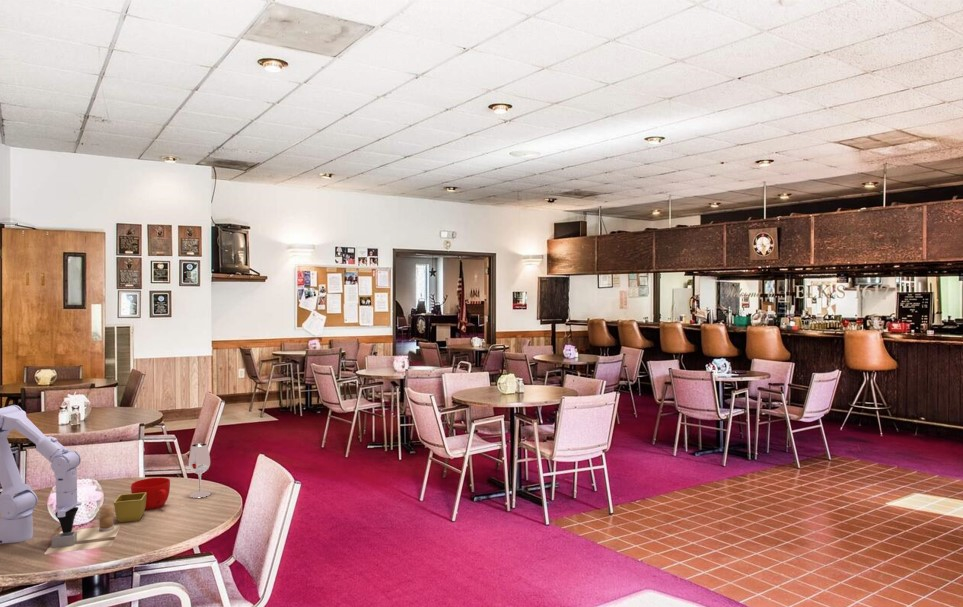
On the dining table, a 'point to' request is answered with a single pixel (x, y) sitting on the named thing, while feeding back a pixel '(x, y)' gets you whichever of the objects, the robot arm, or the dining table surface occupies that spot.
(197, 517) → the dining table surface
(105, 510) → the brown cylinder
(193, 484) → the dining table surface
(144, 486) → the ceramic cup
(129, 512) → the flower pot
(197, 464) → the wineglass
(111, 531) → the board
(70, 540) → the box
